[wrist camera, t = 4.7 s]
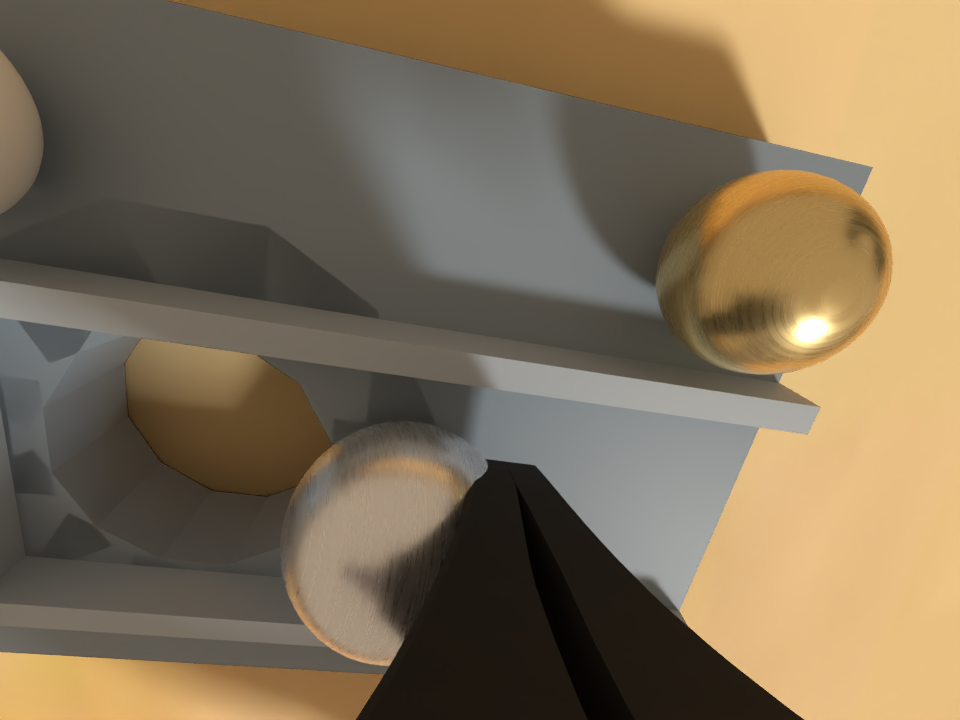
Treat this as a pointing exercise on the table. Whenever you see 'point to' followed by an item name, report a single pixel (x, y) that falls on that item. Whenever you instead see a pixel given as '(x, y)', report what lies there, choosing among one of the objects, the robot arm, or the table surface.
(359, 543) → the steel ball
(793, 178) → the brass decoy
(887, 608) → the table surface
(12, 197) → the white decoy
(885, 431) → the table surface
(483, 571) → the robot arm
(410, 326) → the grey divided tray
